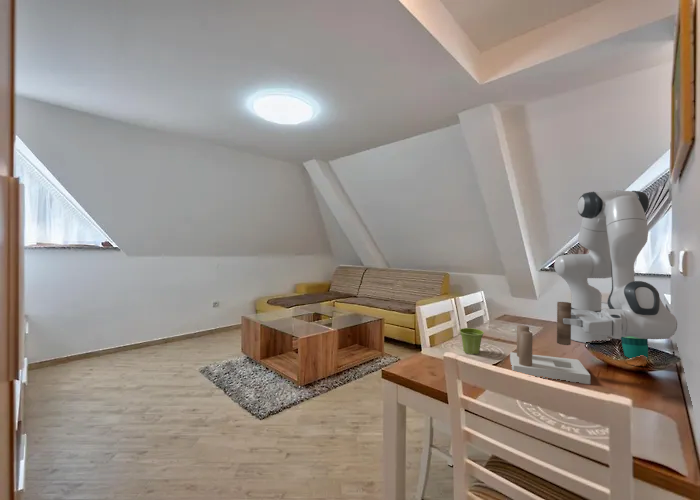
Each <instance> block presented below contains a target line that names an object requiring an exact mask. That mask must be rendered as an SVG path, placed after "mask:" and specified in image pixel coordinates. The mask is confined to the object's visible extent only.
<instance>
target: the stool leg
mask: <svg viewBox="0 0 700 500" xmlns="http://www.w3.org/2000/svg"><path fill="white" fill-rule="evenodd" d="M571 305H572V304H571V302H567V301H557V303H556V311H557V312H556V343H557V344H559V345H563V346H570V345H572V340H571V325H570V324H564V323H563V322H562V319H563V318H569V319H571Z"/></svg>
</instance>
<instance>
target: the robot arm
mask: <svg viewBox="0 0 700 500" xmlns="http://www.w3.org/2000/svg"><path fill="white" fill-rule="evenodd" d="M649 199H650V198H649V197H648V195H647V194H646V193H645V192H643V191H640V190H631V191H630V190H618V189H617V190H614V189H613V190H604V191H589V192H585V193H583V194H582V195H581V196H580V197H579V199H578V202H577V205H576V206H577V207H576V208H577V212H578V215H579V216H580V217H582V219H581V223H580V228H579V232H578V237H577V241H578V243H579V245H580V246H582V247H583V248H585V249H587V250H589V251H588V253H568V254H564V255H558V257H557V258H556V259H555V261H554V263H553V268H554V272H555V273H556V274H557V275H558V276H559V277H561V278H562V279H563V280H564V282H566V283H567V284H568V287H569V289H570V290H569V291H570V297H571V302H570V303H571V319H569V318H563V319H562V322H563V323H564V324H570V325H571V341H573V342H574V341H575V342H579V343H585V344H587V343H586V342H588V341H592V340H609V339H611V338H612V339H613V340H615V339H617V340H621V337H628V336H631V337H636V338H640V339H648V340H666V339H669V338H671V337H673V336H674V335H675V333H676V331H677V328H678V321H677V318H676V316H675V315H674V314H673V313H671V312H670V311H669V310H668V308H667V307H666V306H665V305H664V303H663V301H662V299H661V297H660V293H659V291H658V289H657V288H656V287H655V286H654V285H652V284H650V283H649V282H646V281H642V280H641V281H640V280H635V262H636V259H637V258H638V256H639V254H640V253H641V251H642V250H643V248H644V247H645V246H646V244H647V242H648V238H649V237H648V236H649V226H648V219H647V215H646V213H647V212H648V209H649V206H650V205H649V204H650V201H649ZM608 278H611V291H610V292H609V295H608V298H607V302H606V303H607V307H608V308H602V297H603V296H602V292H601V291H600V290H599V289H598V288H597V287H595V286H592V285H590V283H589V282H588V279H608ZM609 337H611V338H609Z"/></svg>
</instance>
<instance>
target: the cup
mask: <svg viewBox="0 0 700 500" xmlns="http://www.w3.org/2000/svg"><path fill="white" fill-rule="evenodd" d="M620 340H621V347H622V351H623V354H624V357H625V356H626V357H628V358H632V357H636V356H640V355H644V356H646V357H647V359H648V358H649V344H648V342H649V339H640V338H636V337H631V336H628V337H621V339H620Z"/></svg>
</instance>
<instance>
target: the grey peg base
mask: <svg viewBox="0 0 700 500" xmlns="http://www.w3.org/2000/svg"><path fill="white" fill-rule="evenodd" d="M509 361H510V365H512V366H511V370H512V371H513V370H514V371H517V372H522V373H525V374H529V375H534V376H537V377H536V378H538V377H540V376H543V377H542V378H541V379H545V380H546V379H547V380H549V379H548V378H552V379H551V380H553V379H556V380H555V381H558V380H557V379H560V380H559V381H561V380H566V381H565V382H568V381H570V383H576V382H579V383H578V384H583V385H584V384H585V385H591V374H590V373H589V371H588V369H586V367H584V364H582V362H581V361H580V360H579V359H575V358H568V357H567V358H566V357H558V356H556V357H555V356H549V355H539V354H533V332H531V331H530V326H527V325H522V324H520V325H517V326H516V352H513V351H510V352H509ZM545 377H548V378H545Z"/></svg>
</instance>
